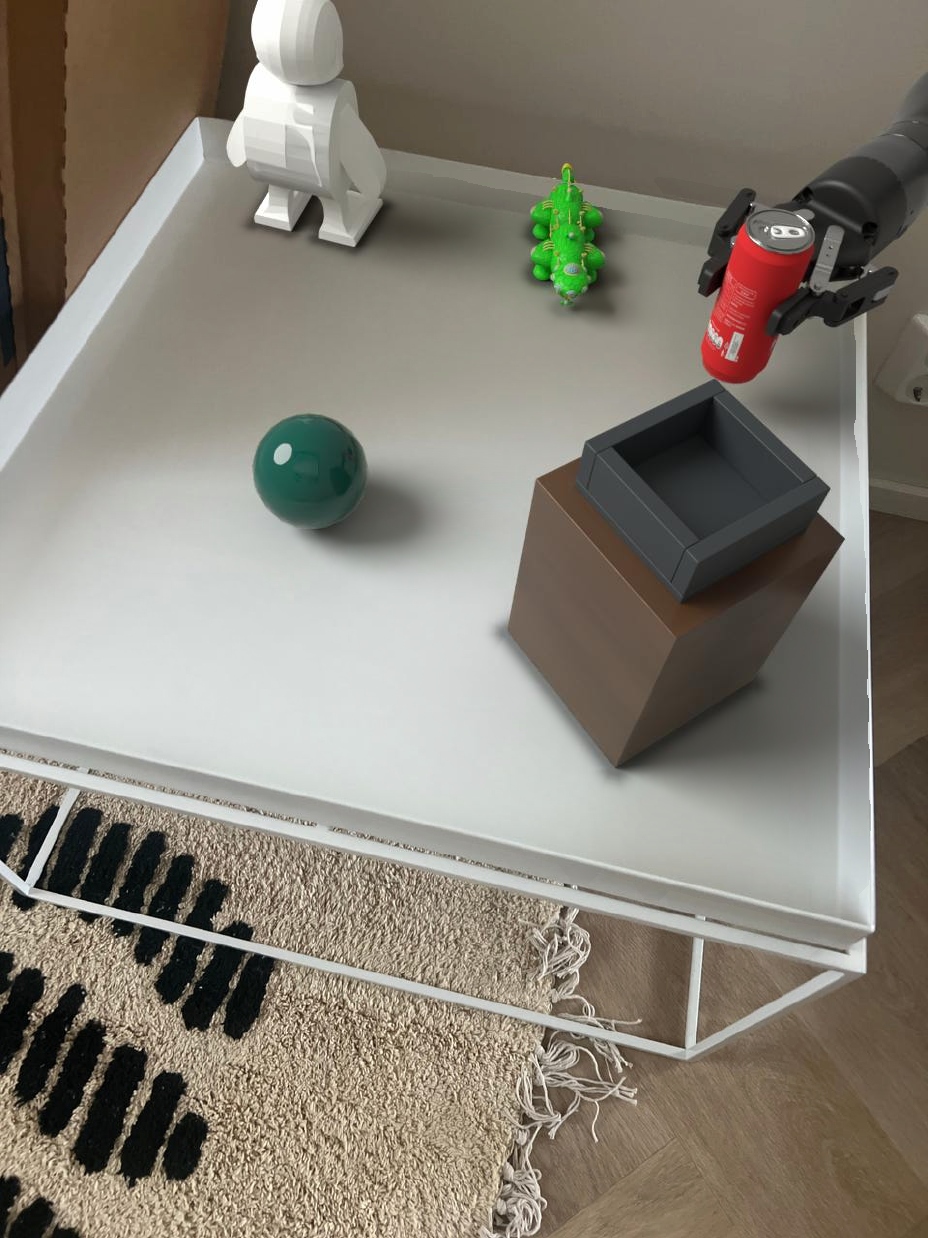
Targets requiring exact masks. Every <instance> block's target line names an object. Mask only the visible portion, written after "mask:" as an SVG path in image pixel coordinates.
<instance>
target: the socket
mask: <svg viewBox="0 0 928 1238" xmlns="http://www.w3.org/2000/svg"><path fill="white" fill-rule="evenodd" d="M580 457H581V460H580V464H579V468H578V473H577V477H576V480H575V484H574V486H575V487H576V489H577V490H578V491H579V492H580V493H581V494H582V495H583V496H584V497H585V499H586V500H587V501H588V502H589V503H590V504H591V505H592V506H593V507H594V509H595V510H596V511H597V512H598V513H599V514H600V515H601V516H602V517H603V519H604V520H605V521H606V522H607V523H608V524H609V525H610V526H611V527H612V529H613V530H614V531H615V532H616V533H617V534H618V535H619V536H620V537H621V539H622V540H623V541H624V542H625V543H626V544H627V545H628V546H629V548H630V549H631V550H632V551H633V552H634V553H635V554H636V555H637V556H638V558H639V559H640V560H641V561H642V562H643V563H644V564H645V565H646V566H647V568H648V569H649V570H650V571H651V572H652V573H653V574H654V575H655V576H656V578H657V579H658V580H659V581H660V582H661V583H662V584H663V585H664V586H665V588H666V589H667V590H668V591H669V592H670V593H671V594H672V595H673V597H674V598H675V599H676V600H677V601H678V602H679V603H680V604H681V603H683V602H684V601H686V600H688V599H690V598H691V597H693V596H695V595H697V594H698V593H700V592H702V591H703V590H705V589H707V588H709V587H710V586H712V585H714V584H715V583H717V582H719V581H721V580H722V579H724V578H726V577H728V576H729V575H731V574H733V573H734V572H736V571H738V570H740V569H741V568H743V567H745V566H747V565H748V564H750V563H752V562H753V561H755V560H757V559H759V558H760V557H762V556H764V555H766V554H767V553H769V552H771V551H772V550H774V549H776V548H778V547H779V546H781V545H783V544H785V543H786V542H788V541H790V540H791V539H793V538H795V537H797V536H798V535H800V534H802V533H804V532H805V531H806V530H807V529H808V527H809V525H810V523H811V522H812V520H813V518H814V516H815V515H816V513H817V512H818V511H819V510H820V508H821V507H822V504H823V503H824V501H825V500H826V498H827V496H828V495H829V493H830V491H831V487H830V486H829V484H827V482H825V481H824V480H823V479H822V478H821V477H819V476H818V475H817V473H816V472H814V471H813V470H812V469H811V467H809V466H808V465H807V464H806V463H805V462H804V461H803V460H802V459H801V458H800V457H799V456H798V455H797V454H796V453H794V452H793V451H792V450H791V449H790V448H789V447H788V446H787V445H786V444H785V443H784V442H783V441H782V440H781V439H780V438H779V437H778V436H777V435H775V433H773V432H772V431H771V430H770V429H769V428H768V427H767V426H766V425H765V424H763V422H761V420H760V419H758V418H757V417H756V415H754V414H753V413H752V412H751V411H750V410H749V409H748V408H747V407H746V406H745V405H743V403H741V402H740V400H738V399H737V397H735V396H734V395H733V394H732V393H731V392H730V391H729V390H728V389H727V388H725V386H723V385H722V384H721V383H720V381H719V380H717V379H715V378H712V379H710V380H708V381H707V382H704V383H702V384H700V385H698V386H696V387H694V388H692V389H690V390H688V391H686V392H684V393H682V394H680V395H677V396H675V397H673V398H671V399H669V400H667V401H664V402H663V403H660V404H659V405H657V406H654V407H653V408H651V409H649V410H646V411H644V412H643V413H640V414H638V415H637V416H634V417H632V418H630V419H628V420H626V421H623V422H622V423H620V424H617V425H615V426H613V427H612V428H609V429H608V430H605V431H603V432H601V433H599V434H596V435H595V436H593V437H591V438H589V439H587V440H585V441H584V444H583V448H582V452H581V456H580Z"/></svg>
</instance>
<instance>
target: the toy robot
mask: <svg viewBox="0 0 928 1238" xmlns="http://www.w3.org/2000/svg"><path fill="white" fill-rule="evenodd" d="M250 30H251V31H250V33H251V40H252V42H253V43H252V44H253V47H254V50H255V53H256V58H257V59H258V61H259V62H258V63H257V64H256V65H255V67H254V68H253V70H252V71H251V73H250V76H249V79H248V82H247V85H246V90H245V95H244V101H243V108H242V110H241V111H240V113H239V114H238V116H237V117H236V119H235V121H234V122H233V124H232V127H231V130H230V132H229V135H228V138H227V141H226V147H225V148H226V153H227V157H228V159H229V161H230V163H231V165H233V166H234V167H235V168H239V167H241V166H242V165H243V164H244V163H245V162H246V167H247V170H248V173H249V176H250V177H251V179H252V180H253V181H254V182H258V183H262V184H265V185H268V192H267V193H266V196H265V197H264V199H263V201H262V202H261V204H260V205H259V207H258V209H257V211H256V212H255V214H254V217H253V219H254V222H255V223H256V224H260V225H263V226H268V227H270V228H271V227H272V228H276V229H280V230H284V231H288V232H292V230H293V229H294V227H295V225H296V224H297V222H298V220H299V218H300V217H301V215H302V213H303V212H304V210H305V209H306V206H307V205H308V203H309V201H310V200H311V198H312V196H315V197H317V198H318V200H319V201H320V203H321V205H322V209H323V222H322V224H321V226H320V228H319V230H318V239H321V240H324V241H329V242H333V243H336V244H341V245H345V246H349V247H352V248H356V246H357V245H358V243H359V241H360V240H361V238H362V237H363V235H364V234H365V232H366V231H367V230H368V228H369V226H370V225H371V223H372V222H373V221H374V219H375V217H376V215H377V214H378V213H379V211H380V209H381V208H382V206H383V205H384V202H383V198H379V197H380V195H381V194H382V192H383V191H384V189H385V186H386V183H387V167H386V162H385V159H384V157H383V155H382V151H381V150H380V148H379V147H378V144H377V143H376V142H377V141H376V140H375V139H374V136H373V135H372V134H371V132H370V131H369V129H368V128H367V127H366V125H365V124H364V122H363V121H362V120H361V118H360V113H359V105H358V99H357V98H358V97H357V93H356V88H355V85H354V83H353V82H352V81H351V80H347V79H343V78H339V77H338V76H339V75H340V73H341V72H342V70H343V68H344V60H343V59H344V58H343V57H344V56H343V52H344V34H343V33H344V32H343V26H342V24H341V20H340V16H339V13H338V11H337V8H336V6H335V4H334V3H333V2H332V1H331V0H257V2H256V5H255V8H254V12H253V13H252V19H251V29H250ZM352 183H353V185H354V186H355V188H356V189H357V190H358V191H359V192H358V191H354V190H351V189H350V187H351V184H352ZM255 223H254V224H255Z"/></svg>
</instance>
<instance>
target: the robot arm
mask: <svg viewBox="0 0 928 1238" xmlns="http://www.w3.org/2000/svg"><path fill="white" fill-rule="evenodd" d="M924 72H925V71H924ZM924 72H923V73H924ZM923 73H922V74H923ZM922 74H921V75H922ZM921 75H920V76H921ZM920 76H918V77H917V79H916V80H915V81H914V82H913V83H914V84H913V83H912V84H911V86H909V88H908V90H907V91H906V93H905V94H904V95H903V97H902V99H901V100H900V101H899V104H898V105H897V108H896V109H895V111H894V113H893V115H892V117H891V118H890V121H889V123H888V124H887V126H886V127H885V129H883V130H882V131H881V132H880V133H878V134H877V135H875V136H874V137H873V138H872V139H870V140H868V142H866V143H862V145H859V146H858V147H856V148H854V149H853V150H851V151H850V152H848V153H847V154H846V155H844V156H843V157H842V158H840V159H839V160H837V161H836V162H835V163H833V164H832V165H831V166H830V167H828V168H827V169H826V170H824V172H822V173H821V174H819V175H818V176H816V177H815V178H813V180H812V181H810V182H809V183H807V184H806V185H805V186H803V188H802V189H801V190H799V191H798V192H797V193H796V195H794V197H793V198H792V199H791V200H789V201H787V202H782V203H781V202H780V203H777V204H775V205H773V207H770V206H768V205H765V204H762V203H759V202H757V201H755V200H756V196H757V192H756V191H755V190H754V189H752V188H751V187H750V188H749V187H745V188H742V189H740V191H739V192H738V193H737V195H736V196H735V198H733V200H732V201H731V203H730V204H729V205H728V206H727V208H726V209H725V210H724V212H723V213H722V215H721V216H720V218H718V220H717V221H716V223H715V225H714V229H713V232H712V236H711V239H710V242H709V246H708V247H707V252H706V253H707V255H708V256H709V257H710V258H709V259H707V260H706V261H705V262H703V264H702V267H701V270H700V274H699V277H698V280H697V283H696V284H697V285H699V286H698V289H697V293H698V294H699V295H701V296H702V297H704V298H707V299H708V298H709V297H710V296H711V295H713V293H715V292H716V291H717V290H720V287H721V284H722V281H723V278H724V275H725V272H726V269H727V266H728V263H729V260H730V257H731V254H732V251H733V248H734V245H735V242H736V239H737V236H738V233H739V230H740V228H741V227H742V226H743V225H744V224H745V223H746V220H747V219H748V217H749V216H750V215H751V214H753V213H754V212H756V211H759V210H763V209H782V210H787V211H790V212H793V213H796V214H798V215H799V216H801V217H802V218H804V219H805V220H806V221H807V222H809V224H810V225H811V226H812V228H813V230H814V232H815V240H814V252H813V255H812V257H811V259H810V262H809V264H808V267H807V269H806V271H805V274H804V276H803V279H802V281H801V284H805V285H804V287H803V286H799V288H798V290H797V291H796V292H795V293H794V294H793V295H791V296H790V297H788V298H787V299H786V300H785V301H784V302H783V303H781V304H780V305H779V306H778V307H777V308H776V309H775V310H774V311H773V313H772V314H771V316H770V319H769V321H768V324H767V326H766V329H765V331H764V333H765V334H767V335H768V336H770V337H772V338H774V337H776V336H777V335H778V334H779V335H781V336H784V337H785V336H786V335H790V334H791V333H792V332H794V330H796V329H797V328H798V327H799V326H800V325H802V324H803V323H804V322H805V321H806V320H812V319H814V317H817V318H821V319H822V322H823V324H824V325H825V326H826V327H829V328H834V329H835V328H838V327H840V326H842V325H844V324H847V323H848V322H850V321H852V320H854V319H856V318H858V317H859V316H861V315H864V314H866V313H868V312H869V311H871V310H873V309H875V308H877V307H879V306H881V305H883V304H884V303H885V302H886V300H887V299H888V296H889V294H890V293H891V290H892V289H893V287H894V285H895V283H896V280H897V279H898V278H899V275H900V273H899V270H897V269H896V268H895V267H893V266H888V265H887V266H884V267H881V268H878V267H877V266H875V265H874V264H873V263H871V261H872V260H874V259H875V257H877V256H878V255H880V253H881V252H883V251H884V250H885V249H886V248H888V247H889V246H890V245H891V244H892V243H893V242H895V240H898V239H900V238H901V237H902V236H903V235H904V234H905V232H907V230H908V229H909V228H910V227H911V226H912V225H913V223H914V222H916V220H917V219H918V217H919V216H921V213H923V212H924V211H925V210H926V209H928V71H927V72H925V73H924V74H923V75H922V76H921V77H920ZM854 280H855V281H854ZM845 281H846V282H847V281H853V282H851V283H849V284H847V285H845V286H843V287H841V288H838V289H837V290H836V291H831V290H828V289H827V287H828V285H829V283H834V282H837V283H838V282H845Z"/></svg>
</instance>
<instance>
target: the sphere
mask: <svg viewBox="0 0 928 1238" xmlns="http://www.w3.org/2000/svg"><path fill="white" fill-rule="evenodd" d="M251 466H252V468H251V469H252V477H253V484H254V485H253V486H254V489H255V492H256V493H257V495H258V497H259V498H260V500H261V503H262V504H263V505H264V507H265V508H266V510H267V511H268V512H270V513H271V514H272V515H273V516H274V517H276V518H277V519H278V520H279V521H280V522H282V523H284V524H287V525H290V526H292V527H295V528H297V529H304V530H319V529H326V528H329V527H331V526H334V525H336V524H339V523H340V522H342V521H344V520H345V519H346V518H347V517H349V515H351V514H352V513H354V511H355V510H356V508H357V507H358V506H359V504H360V503H361V501H362V499H363V498H364V497H365V493H366V490H367V484H368V479H369V466H368V462H367V455H366V452H365V449H364V447H363V445H362V444H361V442H360V441H359V439H358V438H357V437H356V435H355V434H354V432H353V431H352V430H351V429H349V428H348V427H347V426H345V424H343V423H341V422H340V421H339V420H337V419H334V418H332V417H329V416H327V415H325V414H319V413H311V412H306V413H300V414H293V415H291V416H288V417H286V418H283V419H281V420H280V421H278V422H276V424H274V425H272V426H271V427H270V428H269V429H268V430H267V432H266V433H265V434H264V435H263V437H262V438H261V439H260V441H259V442H258V445H257V446H256V450H255V452H254V456H253V460H252V465H251Z"/></svg>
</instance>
